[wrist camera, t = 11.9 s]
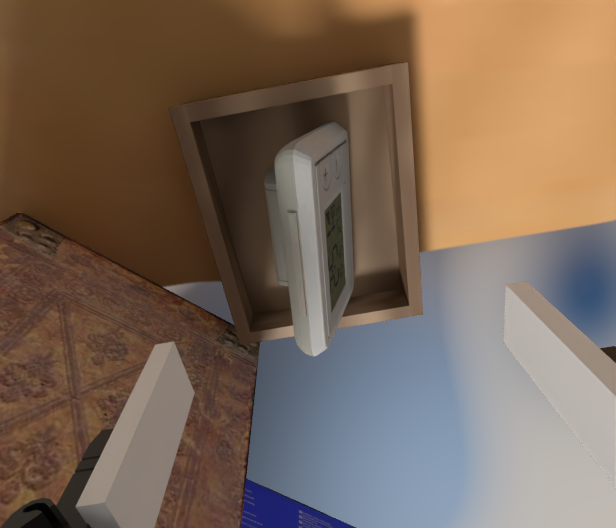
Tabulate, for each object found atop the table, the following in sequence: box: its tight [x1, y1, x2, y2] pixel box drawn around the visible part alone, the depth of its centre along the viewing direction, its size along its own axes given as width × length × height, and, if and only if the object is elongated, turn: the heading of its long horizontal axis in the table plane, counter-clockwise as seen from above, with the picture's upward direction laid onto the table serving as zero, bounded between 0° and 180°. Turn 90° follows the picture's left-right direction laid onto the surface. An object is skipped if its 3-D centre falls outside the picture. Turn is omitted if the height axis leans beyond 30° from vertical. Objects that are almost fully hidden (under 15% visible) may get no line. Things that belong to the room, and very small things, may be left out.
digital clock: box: [264, 122, 354, 356], centre depth 32 cm, size 16×9×11 cm, turn 173°
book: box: [0, 213, 260, 528], centre depth 28 cm, size 25×9×30 cm, turn 55°
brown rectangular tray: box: [169, 62, 423, 345], centre depth 35 cm, size 17×21×4 cm
